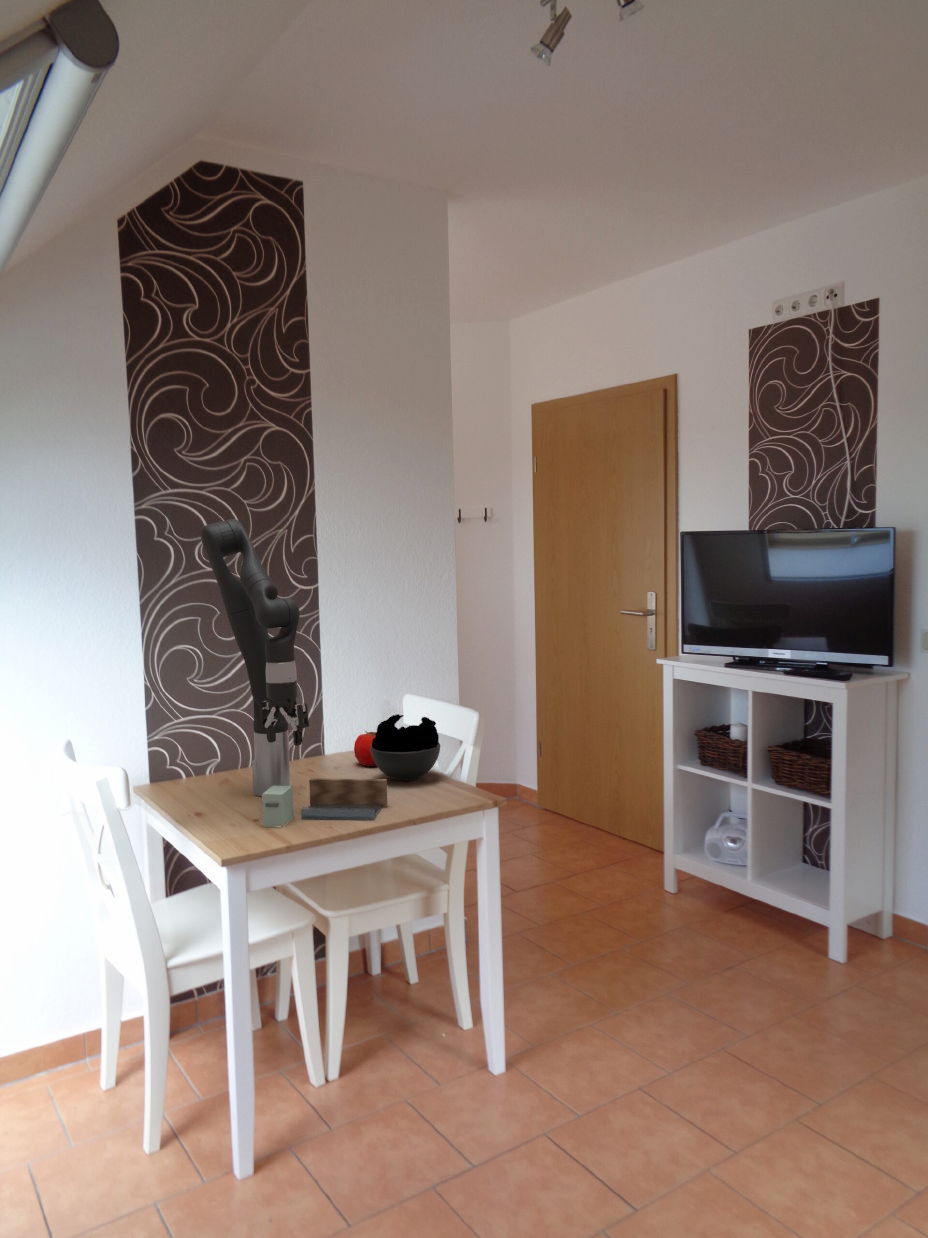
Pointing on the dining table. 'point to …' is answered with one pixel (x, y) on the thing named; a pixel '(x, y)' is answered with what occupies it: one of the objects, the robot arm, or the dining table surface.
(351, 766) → the dining table surface
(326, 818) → the dark grey flat slab
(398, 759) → the coal bowl
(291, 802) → the cabinet
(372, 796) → the wall board
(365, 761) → the tomato
